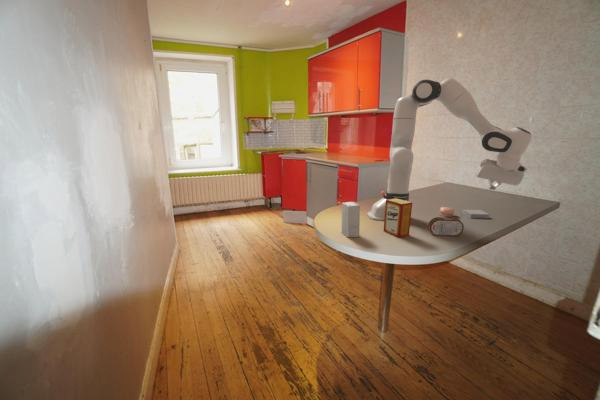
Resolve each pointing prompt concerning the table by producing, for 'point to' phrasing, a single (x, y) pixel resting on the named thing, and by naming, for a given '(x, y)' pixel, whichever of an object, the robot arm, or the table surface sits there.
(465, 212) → the tile
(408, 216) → the baking soda box
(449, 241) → the table surface
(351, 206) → the skincare box
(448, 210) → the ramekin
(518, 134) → the robot arm
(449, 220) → the tin
